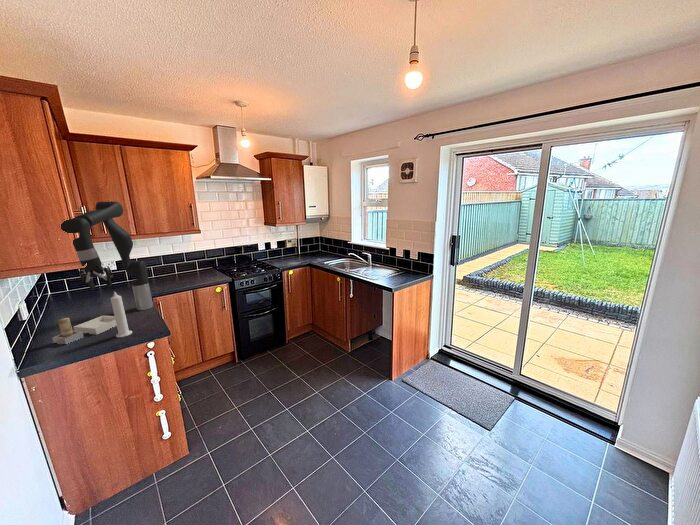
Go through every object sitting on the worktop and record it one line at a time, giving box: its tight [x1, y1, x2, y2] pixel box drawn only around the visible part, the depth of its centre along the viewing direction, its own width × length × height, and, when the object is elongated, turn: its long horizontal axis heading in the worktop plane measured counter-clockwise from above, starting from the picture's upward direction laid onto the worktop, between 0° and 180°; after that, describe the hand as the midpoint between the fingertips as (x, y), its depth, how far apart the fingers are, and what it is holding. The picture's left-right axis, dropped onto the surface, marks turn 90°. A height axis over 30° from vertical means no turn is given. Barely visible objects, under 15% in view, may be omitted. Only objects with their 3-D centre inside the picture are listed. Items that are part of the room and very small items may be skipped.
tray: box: [72, 314, 117, 335], centre depth 166 cm, size 16×16×4 cm
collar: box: [52, 330, 85, 345], centre depth 151 cm, size 8×8×4 cm
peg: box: [57, 317, 74, 337], centre depth 150 cm, size 4×4×12 cm
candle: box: [110, 291, 133, 339], centre depth 153 cm, size 7×7×25 cm
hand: (101, 287), depth 147 cm, fingers open, 8 cm apart
